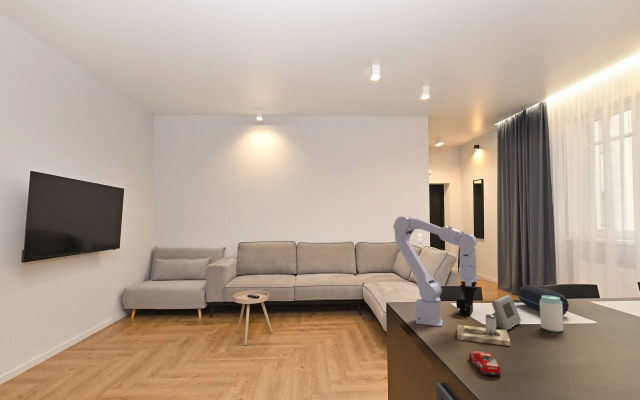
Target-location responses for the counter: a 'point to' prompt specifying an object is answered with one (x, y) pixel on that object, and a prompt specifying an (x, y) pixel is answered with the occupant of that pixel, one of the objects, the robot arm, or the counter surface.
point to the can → (551, 313)
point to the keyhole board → (464, 334)
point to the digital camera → (464, 307)
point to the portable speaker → (539, 296)
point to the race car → (485, 363)
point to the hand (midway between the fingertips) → (469, 302)
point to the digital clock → (505, 312)
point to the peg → (491, 325)
